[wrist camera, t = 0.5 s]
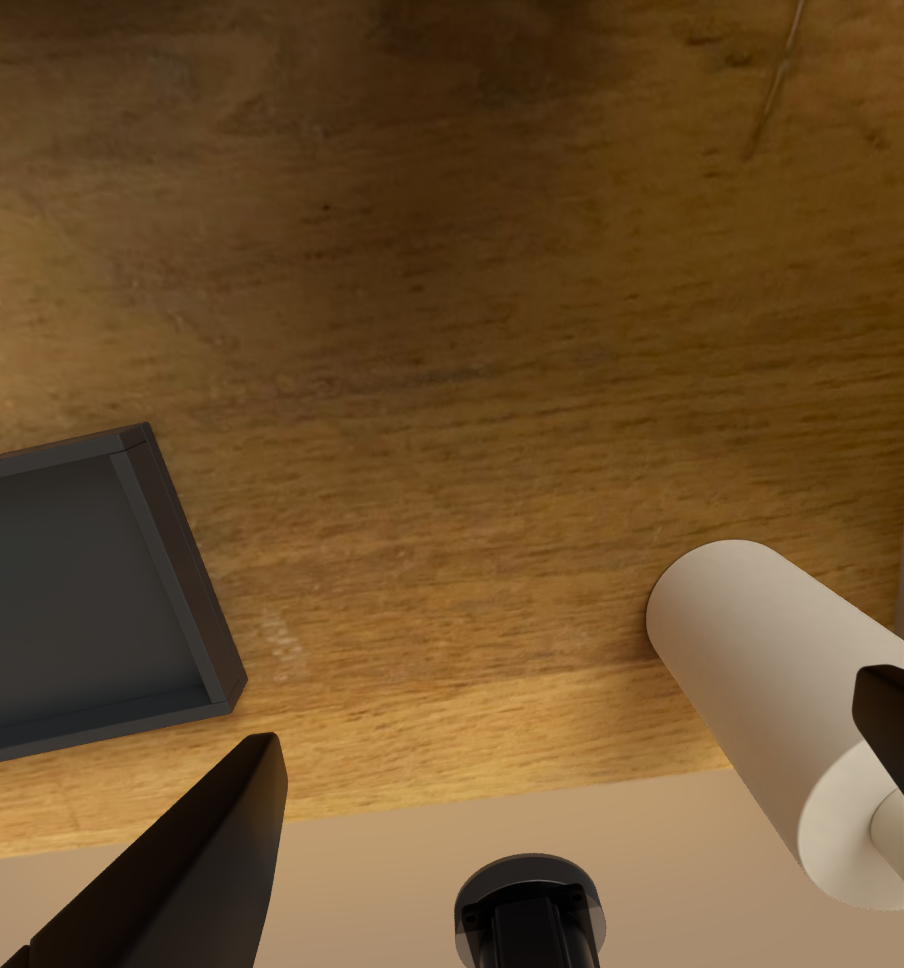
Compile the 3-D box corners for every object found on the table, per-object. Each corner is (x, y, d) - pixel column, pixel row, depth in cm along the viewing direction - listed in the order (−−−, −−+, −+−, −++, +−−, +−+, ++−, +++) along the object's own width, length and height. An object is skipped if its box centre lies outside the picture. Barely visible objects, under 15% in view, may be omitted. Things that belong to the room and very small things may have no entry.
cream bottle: (798, 658, 24) (1190, 1024, 12) (653, 688, 24) (889, 1082, 12) (795, 523, 22) (1259, 794, 10) (637, 557, 22) (899, 865, 10)
